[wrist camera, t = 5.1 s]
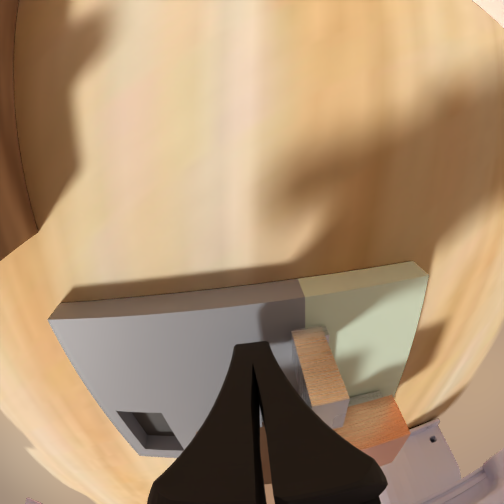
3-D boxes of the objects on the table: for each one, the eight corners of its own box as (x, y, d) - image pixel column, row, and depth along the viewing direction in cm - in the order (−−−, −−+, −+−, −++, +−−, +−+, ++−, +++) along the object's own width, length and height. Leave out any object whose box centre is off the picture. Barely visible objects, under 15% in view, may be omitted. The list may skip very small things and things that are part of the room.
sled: (412, 297, 12) (464, 360, 8) (375, 421, 16) (395, 472, 12) (247, 326, 12) (255, 414, 8) (265, 444, 16) (272, 501, 12)
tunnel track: (413, 260, 13) (495, 341, 7) (373, 414, 18) (400, 482, 13) (60, 302, 13) (-1, 393, 7) (142, 440, 18) (131, 510, 12)
